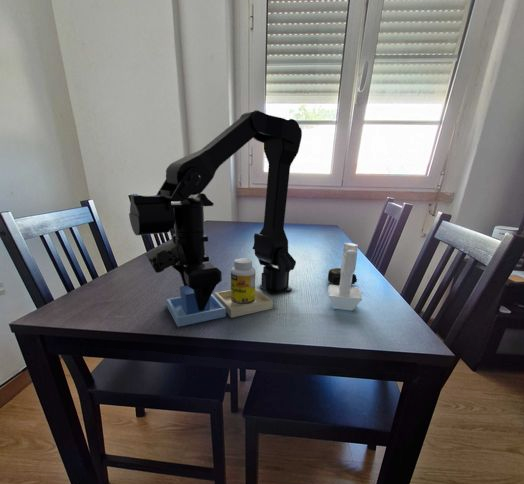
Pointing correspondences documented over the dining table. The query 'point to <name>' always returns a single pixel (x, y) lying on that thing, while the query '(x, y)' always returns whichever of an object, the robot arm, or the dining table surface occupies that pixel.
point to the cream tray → (235, 310)
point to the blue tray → (182, 319)
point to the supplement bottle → (242, 282)
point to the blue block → (190, 301)
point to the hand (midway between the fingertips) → (195, 301)
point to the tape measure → (338, 276)
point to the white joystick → (346, 282)
